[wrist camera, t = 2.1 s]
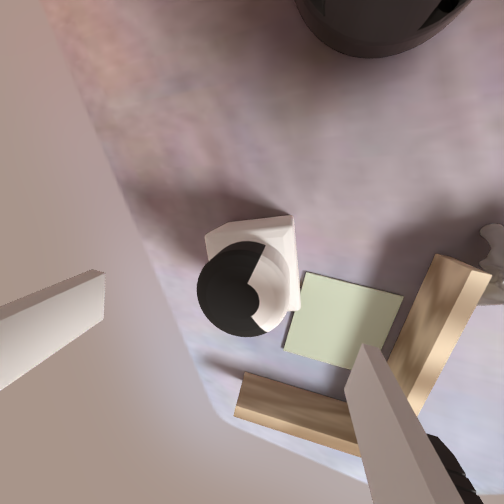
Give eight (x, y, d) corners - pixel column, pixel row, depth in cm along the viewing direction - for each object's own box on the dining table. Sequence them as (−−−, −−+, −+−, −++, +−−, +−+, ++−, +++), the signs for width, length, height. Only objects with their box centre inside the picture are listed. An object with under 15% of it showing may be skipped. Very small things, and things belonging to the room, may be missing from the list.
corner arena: (283, 217, 25) (280, 224, 20) (452, 257, 23) (492, 275, 19) (242, 381, 31) (233, 416, 26) (374, 421, 29) (390, 466, 25)
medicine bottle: (235, 284, 28) (195, 352, 16) (226, 222, 26) (173, 249, 15) (299, 280, 26) (303, 350, 15) (293, 214, 25) (292, 237, 13)
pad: (306, 271, 26) (306, 272, 26) (402, 295, 25) (403, 297, 25) (283, 348, 29) (283, 350, 29) (369, 373, 28) (369, 375, 28)
